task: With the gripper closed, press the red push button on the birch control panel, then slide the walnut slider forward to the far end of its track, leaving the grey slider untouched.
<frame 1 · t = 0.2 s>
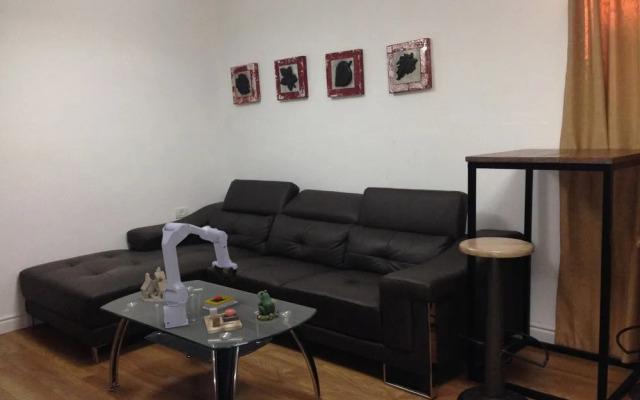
hand: (227, 281, 261), 10 cm above the table, fingers open, 7 cm apart
ceramic cottage: (158, 298, 276), on the table
frog figurine: (268, 316, 241), on the table
control panel: (222, 323, 234), on the table
walnut slider: (216, 320, 228), point 4 cm above the table, slide at 0.0 cm
red push button: (229, 312, 235), point 4 cm above the table, slide at 0.0 cm
grey slider: (213, 312, 238), point 4 cm above the table, slide at 0.0 cm
emergency button: (220, 306, 259), on the table
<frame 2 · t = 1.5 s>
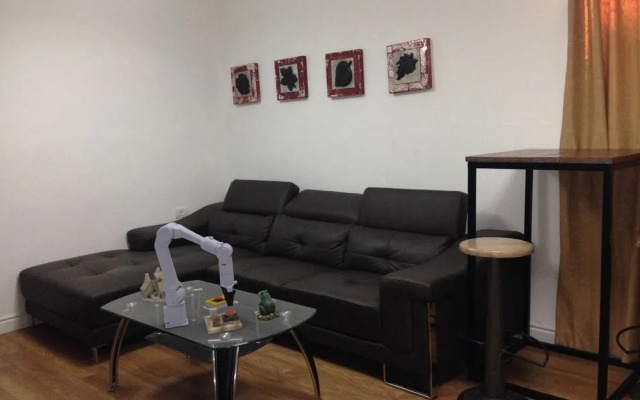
hand: (229, 303, 234), 8 cm above the table, fingers open, 6 cm apart
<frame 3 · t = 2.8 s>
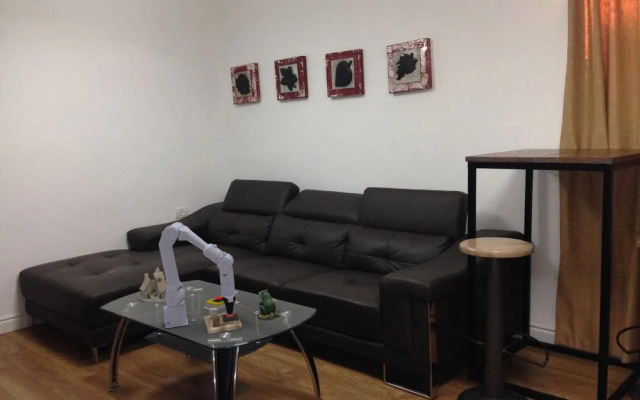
hand: (230, 313, 235), 4 cm above the table, fingers closed, pressing on red push button
red push button: (230, 315, 235), point 3 cm above the table, slide at 1.2 cm, touching gripper
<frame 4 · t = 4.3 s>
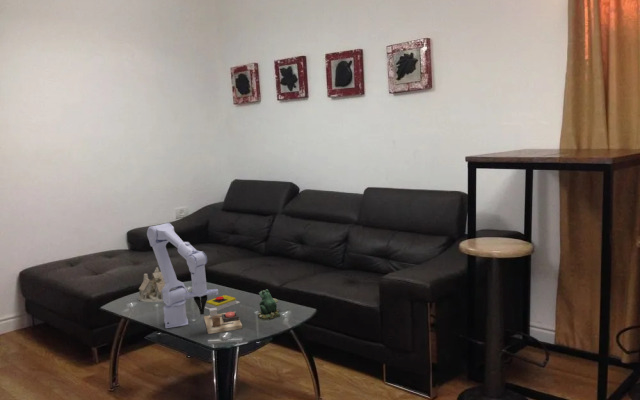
hand: (202, 313, 225), 8 cm above the table, fingers closed
red push button: (230, 315, 235), point 3 cm above the table, slide at 1.2 cm
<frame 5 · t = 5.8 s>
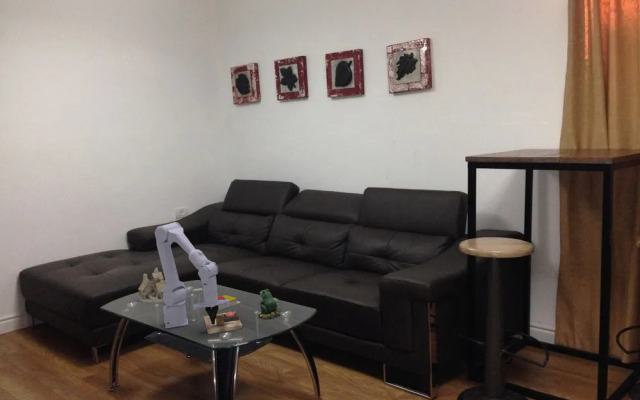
hand: (213, 323, 227), 3 cm above the table, fingers closed
walnut slider: (220, 320, 228), point 4 cm above the table, slide at 1.6 cm, touching gripper
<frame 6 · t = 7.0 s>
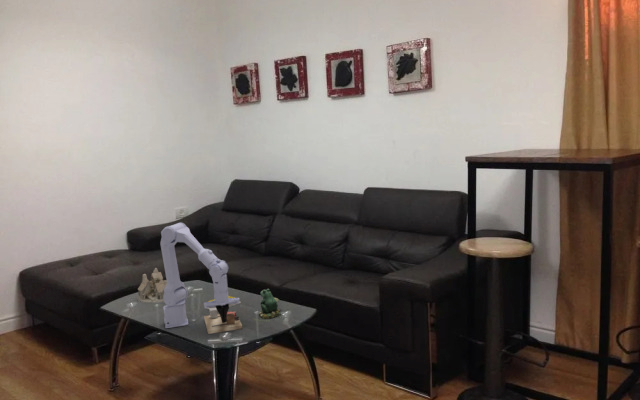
hand: (223, 321, 229), 3 cm above the table, fingers closed
walnut slider: (230, 318, 229), point 4 cm above the table, slide at 5.9 cm, touching gripper
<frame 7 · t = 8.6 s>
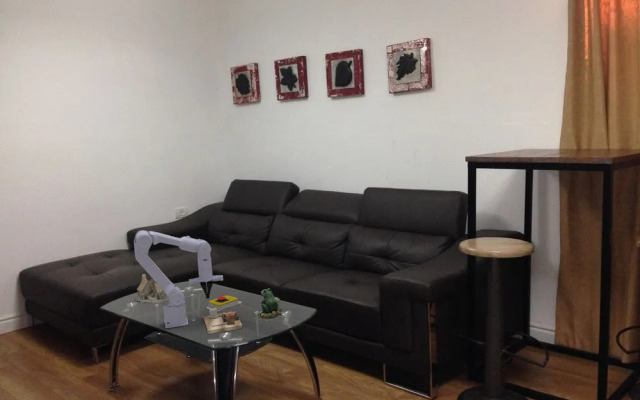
hand: (207, 298, 241), 9 cm above the table, fingers closed
walnut slider: (230, 318, 229), point 4 cm above the table, slide at 5.9 cm
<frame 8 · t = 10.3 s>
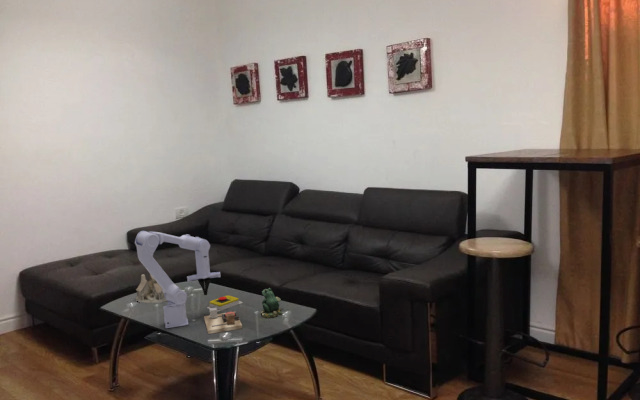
hand: (205, 294, 245), 9 cm above the table, fingers closed
at the end: red push button slide at 1.2 cm; walnut slider slide at 5.9 cm; grey slider slide at 0.0 cm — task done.
